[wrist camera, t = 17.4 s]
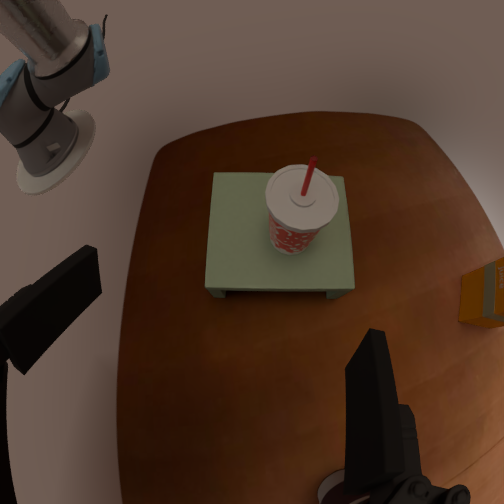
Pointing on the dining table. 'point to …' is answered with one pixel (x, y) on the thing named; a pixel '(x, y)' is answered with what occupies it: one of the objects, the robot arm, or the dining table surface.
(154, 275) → the dining table surface
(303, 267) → the shelf
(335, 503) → the coffee cup
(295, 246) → the beverage cup
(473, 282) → the orange juice
